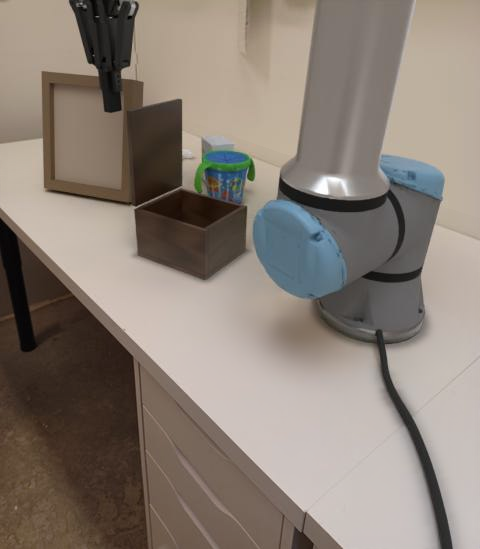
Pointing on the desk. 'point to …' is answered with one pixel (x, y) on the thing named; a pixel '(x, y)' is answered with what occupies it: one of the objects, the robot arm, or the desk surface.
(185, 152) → the white creature statuette
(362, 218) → the robot arm
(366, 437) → the desk surface
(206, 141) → the small box
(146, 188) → the lid
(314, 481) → the desk surface
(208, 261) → the box
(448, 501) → the desk surface
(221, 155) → the snack cup
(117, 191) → the photo frame
